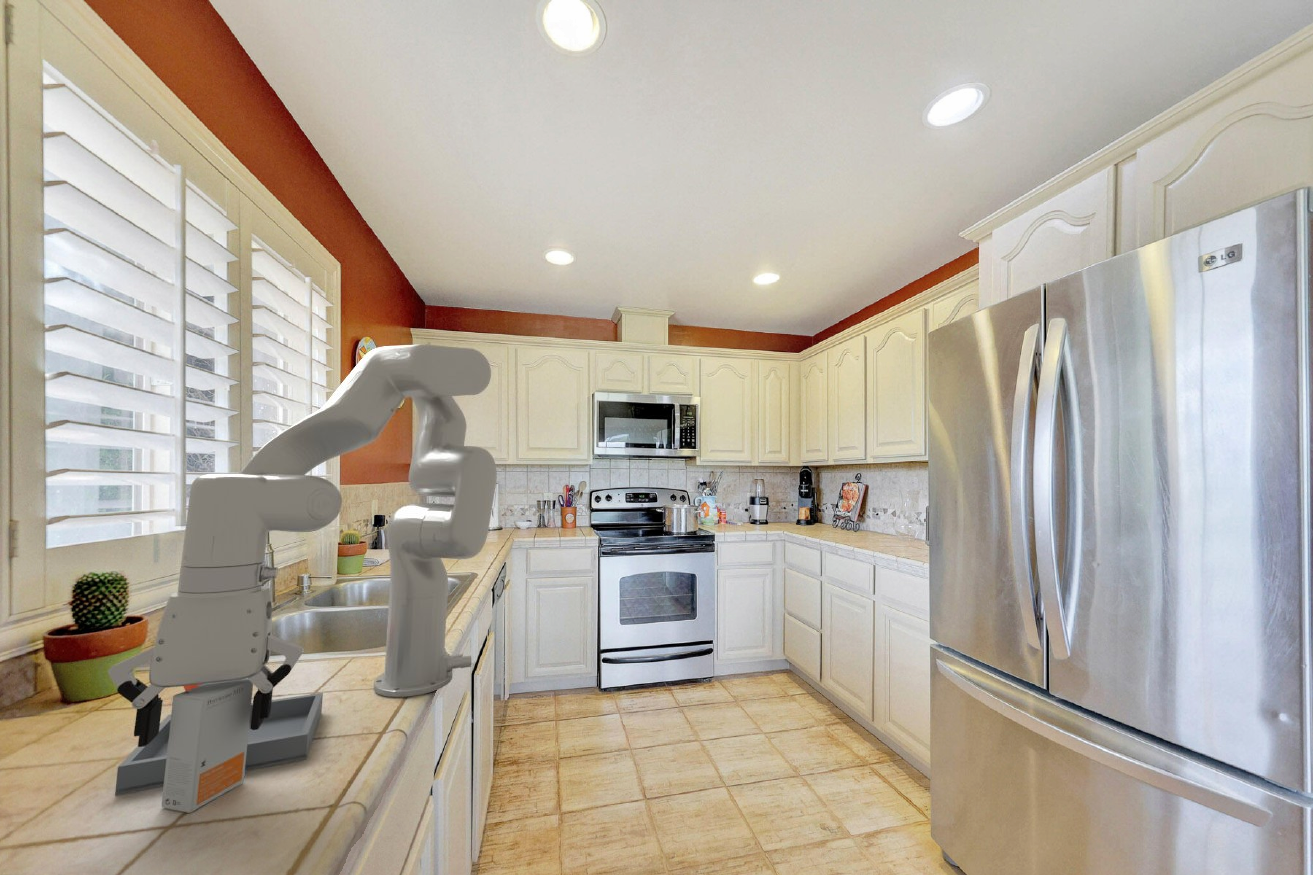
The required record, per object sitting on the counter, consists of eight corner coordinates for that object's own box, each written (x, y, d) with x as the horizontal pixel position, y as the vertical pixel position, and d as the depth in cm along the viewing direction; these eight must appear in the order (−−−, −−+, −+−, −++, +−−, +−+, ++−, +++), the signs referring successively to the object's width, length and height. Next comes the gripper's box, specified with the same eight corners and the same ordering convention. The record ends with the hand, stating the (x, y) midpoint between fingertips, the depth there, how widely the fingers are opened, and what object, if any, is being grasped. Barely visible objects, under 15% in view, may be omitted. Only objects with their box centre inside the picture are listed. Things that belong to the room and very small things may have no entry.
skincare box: (190, 814, 54) (201, 699, 55) (159, 808, 55) (170, 694, 56) (246, 782, 60) (255, 677, 61) (217, 777, 61) (226, 674, 62)
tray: (321, 713, 78) (322, 692, 78) (306, 759, 65) (307, 734, 66) (166, 738, 70) (168, 714, 70) (114, 795, 57) (117, 766, 58)
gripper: (314, 571, 67) (301, 707, 65) (138, 577, 59) (117, 732, 57) (305, 580, 60) (290, 733, 58) (104, 589, 52) (80, 765, 51)
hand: (204, 732), depth 58 cm, fingers open, 9 cm apart
